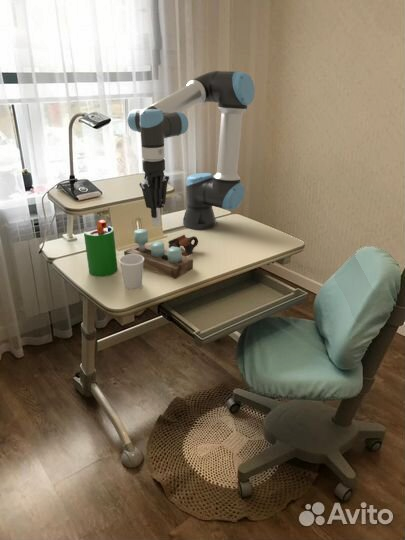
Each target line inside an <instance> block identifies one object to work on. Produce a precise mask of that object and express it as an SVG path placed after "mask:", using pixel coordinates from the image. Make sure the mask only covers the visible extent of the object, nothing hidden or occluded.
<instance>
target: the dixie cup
mask: <svg viewBox="0 0 405 540" xmlns="http://www.w3.org/2000/svg"><path fill="white" fill-rule="evenodd" d="M118 262H119V264H120V271H121V274H122V278H123V284H124V287H125V289H127V290H131V291H133V290H138V289H141V288H142V285H143V274H144V273H143V272H144V267H143V262H144V257H143V256H141V255H138V254H128V255H124V254H123V255H122V256H121V257H119V259H118Z"/></svg>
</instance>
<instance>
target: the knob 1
mask: <svg viewBox="0 0 405 540" xmlns="http://www.w3.org/2000/svg"><path fill="white" fill-rule="evenodd" d="M133 236H134V239H133V240H134V244H137V245H138V246H139V251H140V252H145V244H148V242H149V234H148V230H147V229H145V228H139V229H136V230H134V231H133Z"/></svg>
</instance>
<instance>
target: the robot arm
mask: <svg viewBox="0 0 405 540" xmlns="http://www.w3.org/2000/svg"><path fill="white" fill-rule="evenodd" d="M255 92H256V91H255V83H254V80H253V78H252V77H251V75H250V74H249V73H248V72H246V71H245V72H244V71H229V70H228V71H227V70H225V71H224V70H223V71H221V70H212V71H210V72H209V71H208V72H206V73H203V74H202V75H200V76H199V75H198V76H197V77H194V78H193V79H191V80H189V81H188V82H187V84H186V85H185V86H184V87H181V88H180V89H178V90H176V91H174V92H172V93H171V94H169V95H167V96H165V97H164V98H162V99H160V100H158V101H156V102H154V103H153V104H151V105H149V106H147V107H145V108H143V109H139V108H138V109H131V111H130V112H129V113H128V115H127V124H128V127H129V129H130V130H132V131H134V132H138V133H140V142H141V159H142V170H143V172H144V177H143V179H144V180H143V181H142V182H139V184H138V185H139V187H140V188H141V191H142V195H143V198H144V199H143V200H144V203H145V207H146V208H147V209H150V215H151V216H150V217H151V219H152V226H155V227H158V228H159V227H161V226H162V218H161V216H162V208H164V205H165V204H166V198H167V191H168V183H169V180H170V176H168V175H166V174H165V171H166V160H165V139H168V138H172V137H173V138H174V137H178V136H181V135H184V134H186V132H187V131H188V129H189V119H188V117H187V116H186V114H185V113H184V111H186V110H188V109H190V108H192V107H193V106H195V105H196V106H199V105H202V104H203V103H217V108H218V110H219V111H220V115H221V116H220V127H219V139H218V153H217V166H216V167H217V168H216V173H215V174H213V173H210V172H200V173H193V174H190V175H188V176H187V178H186V185H185V186H186V189H185V191H186V209H185V212H184V215H183V219H182V225H183V226H185V227H186V228H188V229H191V230H207V229H211V228H213V227H215V226H216V225H217V219H216V215H215V213H214V208H213V207H216V208H220V209H223V210H230V211H234V210H236V209H238V207H239V206H240V205H241V203H243V200H244V197H245V194H246V193H245V192H246V190H245V186H244V184H242V183H241V177H240V176H239V174H238V169H239V159H240V158H239V157H240V146H241V137H242V126H243V125H242V124H243V114H244V113H245V112H246V111H247V110H248V106H249V105H251V104H252V103H253V101H254V97H255Z"/></svg>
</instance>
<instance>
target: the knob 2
mask: <svg viewBox="0 0 405 540" xmlns="http://www.w3.org/2000/svg"><path fill="white" fill-rule="evenodd" d="M150 245H151V256H153V257H158V258H161V257H162V256H164V255H165V251H164V250H165V243H164V242H161V241H155V242H151V243H150Z"/></svg>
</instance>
